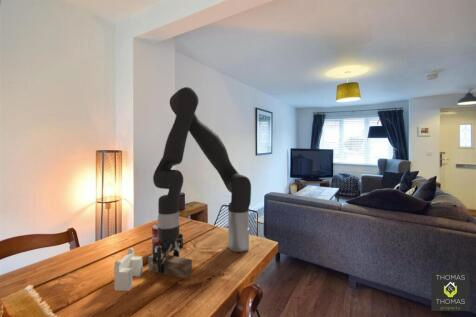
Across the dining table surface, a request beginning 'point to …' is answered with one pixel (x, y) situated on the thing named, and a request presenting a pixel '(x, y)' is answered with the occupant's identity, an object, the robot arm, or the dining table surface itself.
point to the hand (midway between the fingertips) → (169, 267)
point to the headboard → (127, 270)
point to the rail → (173, 266)
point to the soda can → (155, 237)
